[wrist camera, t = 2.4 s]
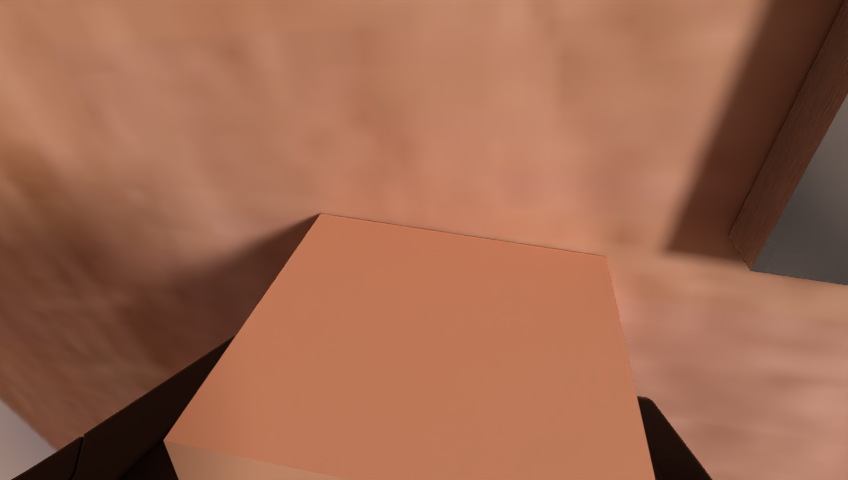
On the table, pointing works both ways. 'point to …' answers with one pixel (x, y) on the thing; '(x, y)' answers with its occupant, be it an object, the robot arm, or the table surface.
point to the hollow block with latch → (421, 367)
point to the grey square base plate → (805, 179)
